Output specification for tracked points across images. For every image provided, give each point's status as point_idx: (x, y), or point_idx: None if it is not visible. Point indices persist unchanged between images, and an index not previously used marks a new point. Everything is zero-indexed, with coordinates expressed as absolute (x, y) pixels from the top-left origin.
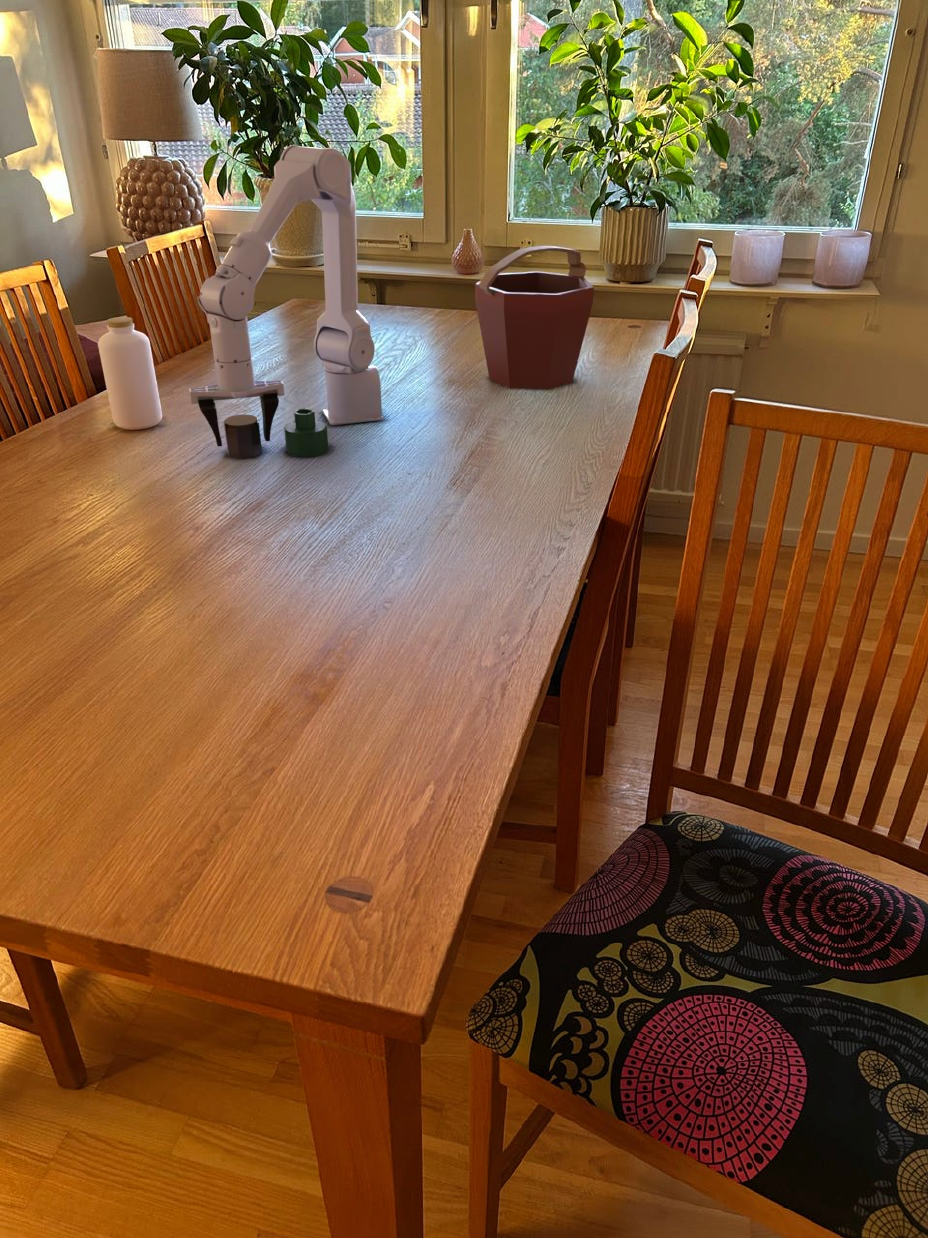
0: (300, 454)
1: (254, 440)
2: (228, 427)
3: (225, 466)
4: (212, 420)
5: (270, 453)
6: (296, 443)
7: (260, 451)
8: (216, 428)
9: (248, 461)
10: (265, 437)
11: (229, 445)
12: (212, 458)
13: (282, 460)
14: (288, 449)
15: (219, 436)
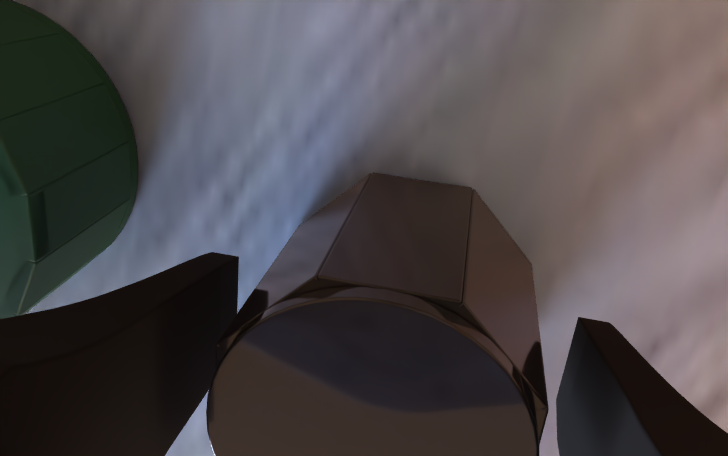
0: (48, 25)
1: (323, 231)
2: (521, 371)
3: (625, 85)
4: (716, 451)
5: (248, 191)
6: (13, 55)
7: (307, 221)
8: (647, 397)
9: (429, 110)
10: (226, 265)
11: (524, 292)
12: (652, 285)
13: (192, 17)
14: (114, 129)
15: (610, 349)
